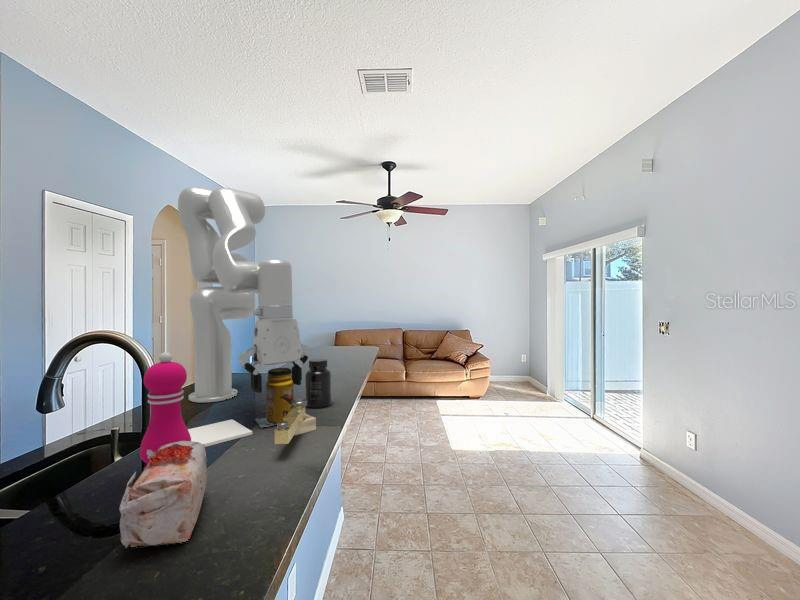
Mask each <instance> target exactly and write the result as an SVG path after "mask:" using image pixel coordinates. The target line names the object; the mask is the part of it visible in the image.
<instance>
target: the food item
mask: <svg viewBox="0 0 800 600" xmlns="http://www.w3.org/2000/svg"><path fill="white" fill-rule="evenodd" d="M147 455H148V459H150V460H149V464H148V465H147V464H146V465H147V467H146V468H145V470H144V469H143V471H142V472H141V473H140V475H139V477H138V478H137V479H136V476H137V475H136V474H137V471H134V473H133V474H132V476H131V477H130V478H129V480H128V482H127V483H126V488H125V491H124V494H123V495H122V499H121V501H120V504H119V508H118V509H119V512H120V515H121V516H120V519H119V530H120V543H122V545H123V546H124V547H125V549H127V548H128V547H129V546H130V547H131V548H132V547H136V546H138V545H139V546H141V545H157V544H162V543H163V544H167V543H174V544H173V545H176V544H175V543H180V544H183V543H182V542H186V541H188V542H189V540H190V538H191V536H192V533H193V530H194V528H195V525H196V524H197V522H198V518H199V515H200V512H201V508H202V504H203V500H204V496H205V492H206V488H207V483H208V467H207V466H208V465H207V463H208V460H207V450H206V447H205V445H204V444H201V443H199V442H194V441H179V442H174V443H170V444H166V445H163V446H161V447H160V448H159V449H158V451H157V452H155V451H154V452H152V450H149V451H148V449H147ZM135 479H136V480H135ZM134 480H135V482H133V481H134ZM188 539H189V540H188ZM186 543H187V542H186ZM136 548H137V547H136Z"/></svg>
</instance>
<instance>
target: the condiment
mask: <svg viewBox="0 0 800 600" xmlns="http://www.w3.org/2000/svg"><path fill="white" fill-rule="evenodd" d="M265 383H266V385H265V394H266V395H265V401H266V402H265V403H266V405H265V407H266V408H265V415H266V416H265V417H266V418H267V421H268V422H269V423H273V424H277V423H278V422H281V421H283V419H284V418H285V417H286V415H287V414H288V413H289V412H290V410H291V409H292V408H293V407H292V401H293V400H294V384H293V381H292V368H288V367H275V368H274V367H273V368H270V369H269V370H268V371H267V381H266V382H265ZM258 418H259V417H257V419H258Z"/></svg>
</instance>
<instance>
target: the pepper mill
mask: <svg viewBox="0 0 800 600" xmlns="http://www.w3.org/2000/svg"><path fill="white" fill-rule="evenodd" d="M172 359H173V356H172V354H171V353H170V352H166V351H165V352H162V353H160V354H159V356H158V360H159V362H156V363H154V364H152V365H150V366H149V367H148V368H147V369H146V371H145V373H144V375H143V385H144V387H145V389H147V390H148V391H149V393H148V394H147V398H148V399H147V403H148V404H149V405H150V419H149V421H148V425H147V429H146V431H145V434H144V435H143V437H142V439H141V443H140V447H139V457H140V460H142V462H144V463H145V464H146V465H145V466H144V467H143V471H144V470H145V468H146V467H147V465H148V464H149V460H150V459H148V455H147V449H148V451H149V450H152V452H154V451H155V452H157V451H158V449H159V448H160V447H161V446H163V445H166V444H170V443H174V442H179V441H191V436H190V433H189V431H188V429H189V428H188V427H187V426H186V424H185V421H184V418H183V416H182V411H181V410H182V409H181V401H182V400H183V399H184V398H185V397H184V396H185V395H184V390H183V389H182V387H183V386H185V384H186V382H187V379H188V378H187V377H188V374H187V370H186V368H185V367H184V366H183V365H182V364H181V363H178V362H176V361H171V360H172Z"/></svg>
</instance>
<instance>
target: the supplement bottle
mask: <svg viewBox="0 0 800 600" xmlns="http://www.w3.org/2000/svg"><path fill="white" fill-rule="evenodd" d="M327 367H328V359H325V358H313V359H309V360H308V368H309V369H308V370H306V372H305V374H304V393H305V394H304V396H305V398H304V399H305V400H307V406H308V408H309V407H313V408H312V409H322V408H326V407H330V406H331V404H332V373H331V370H329V369H328V368H327ZM307 406H306V407H307Z"/></svg>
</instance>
